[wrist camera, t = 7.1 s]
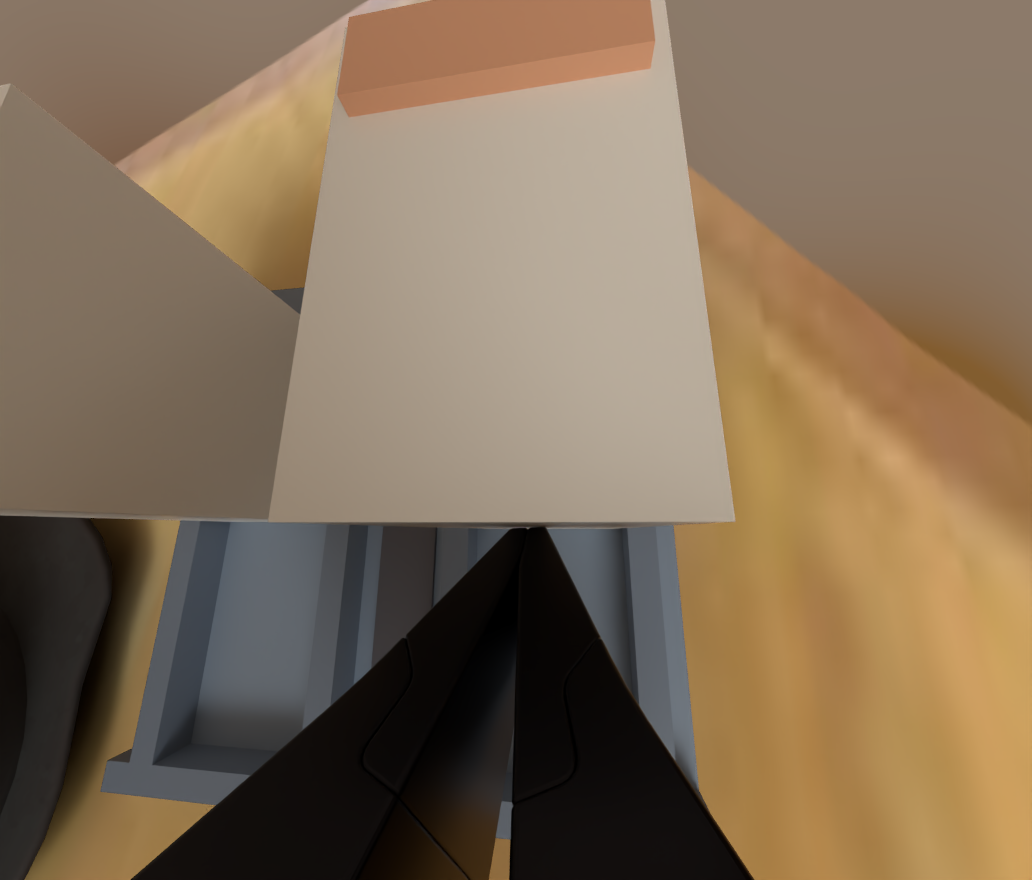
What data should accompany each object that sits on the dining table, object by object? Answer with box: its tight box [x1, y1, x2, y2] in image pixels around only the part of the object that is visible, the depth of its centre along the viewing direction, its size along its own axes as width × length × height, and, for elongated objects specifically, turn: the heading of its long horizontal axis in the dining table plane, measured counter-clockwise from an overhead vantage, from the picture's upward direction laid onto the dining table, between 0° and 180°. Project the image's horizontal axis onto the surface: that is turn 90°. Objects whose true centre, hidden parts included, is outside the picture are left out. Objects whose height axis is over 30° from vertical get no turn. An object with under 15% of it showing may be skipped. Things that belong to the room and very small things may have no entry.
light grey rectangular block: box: [268, 0, 735, 529], centre depth 10 cm, size 5×8×12 cm, turn 0°
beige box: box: [0, 83, 300, 522], centre depth 12 cm, size 5×8×12 cm, turn 0°
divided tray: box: [100, 287, 709, 840], centre depth 16 cm, size 22×20×4 cm
